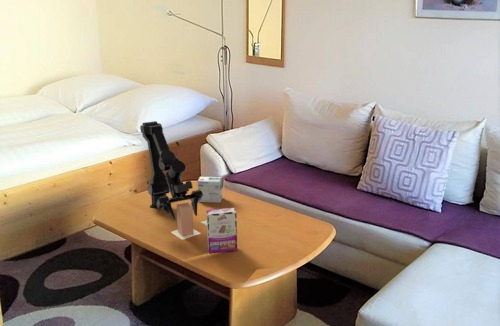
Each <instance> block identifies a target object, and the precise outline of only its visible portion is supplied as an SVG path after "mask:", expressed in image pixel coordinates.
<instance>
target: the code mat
mask: <svg viewBox="0 0 500 326" xmlns="http://www.w3.org/2000/svg"><path fill="white" fill-rule="evenodd" d="M200 223H201V224H203V225H205V226H206V227H207V219H205V220H203V221H200ZM193 230H194V234H191V235H186V236H181V235H180V233H179V232H178V229H175V230H173V231H170V233H171V234H173V235H174V236H176V237H177V238H179V239H180V240H182V241H183V240H186V239H190V238H191V237H192V238H193V237H195V236H197V235H201V234H202V233H201V232H199V231H197V230H196V229H194V228H193Z"/></svg>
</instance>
